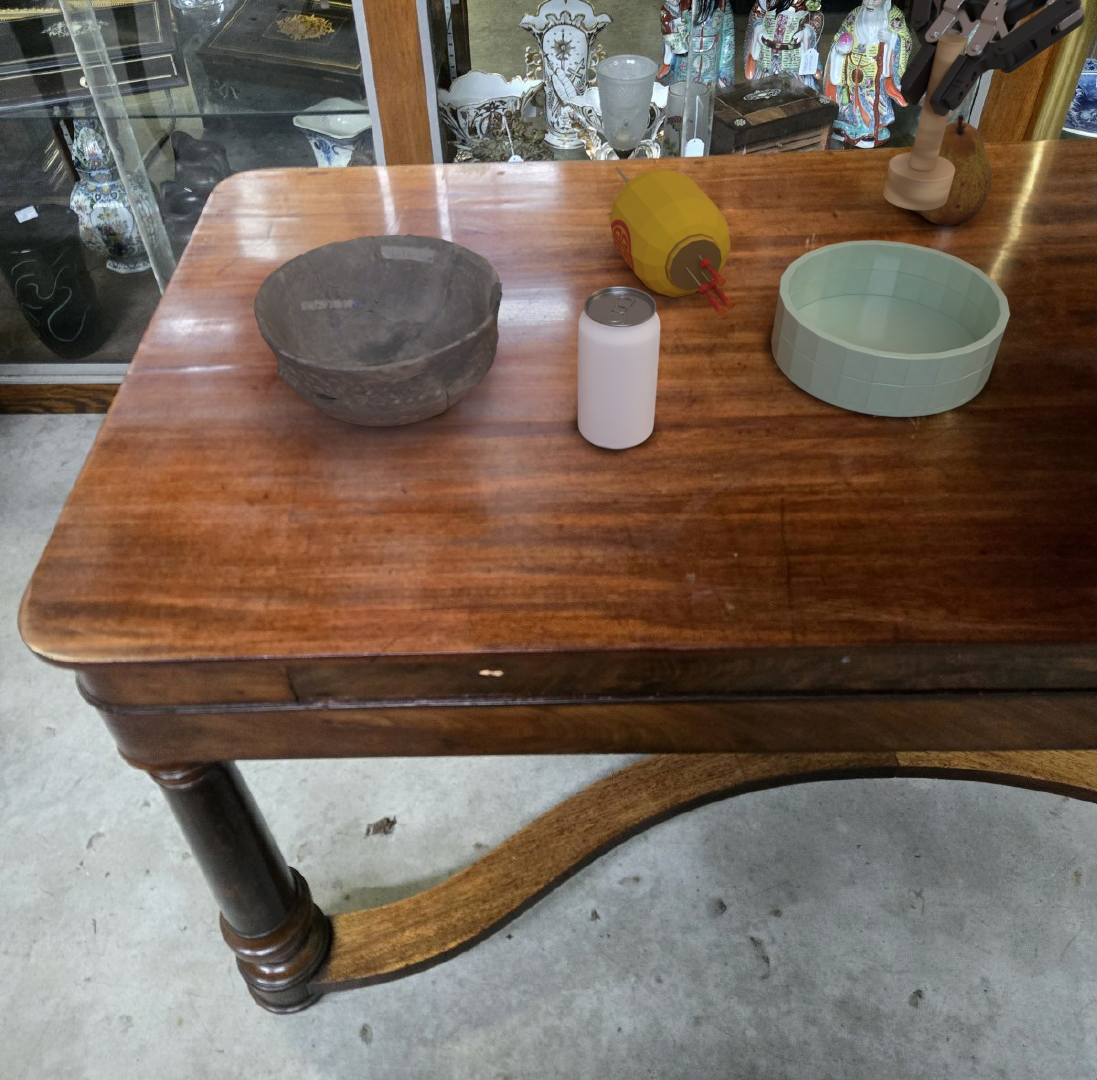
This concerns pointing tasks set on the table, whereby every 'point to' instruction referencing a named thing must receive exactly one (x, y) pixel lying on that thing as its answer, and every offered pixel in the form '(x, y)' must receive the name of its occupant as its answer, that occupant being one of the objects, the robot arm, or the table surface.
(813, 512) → the table surface
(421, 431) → the table surface
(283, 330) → the bowl
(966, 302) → the mixing bowl
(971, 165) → the fruit
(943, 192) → the wooden stamp
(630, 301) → the can
